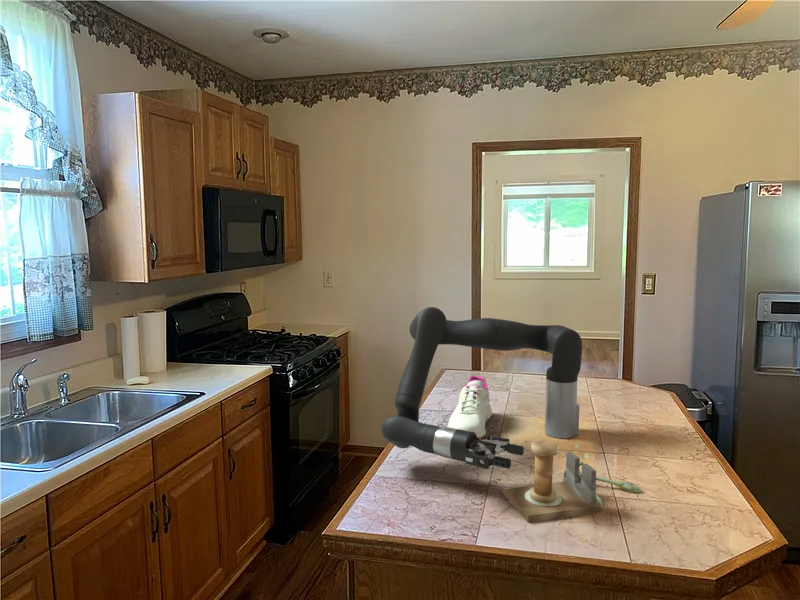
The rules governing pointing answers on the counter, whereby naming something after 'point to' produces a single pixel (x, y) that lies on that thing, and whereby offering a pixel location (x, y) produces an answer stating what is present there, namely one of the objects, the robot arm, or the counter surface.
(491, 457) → the robot arm
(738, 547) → the counter surface
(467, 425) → the golf shoe
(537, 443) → the bobbin
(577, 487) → the board
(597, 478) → the plant
